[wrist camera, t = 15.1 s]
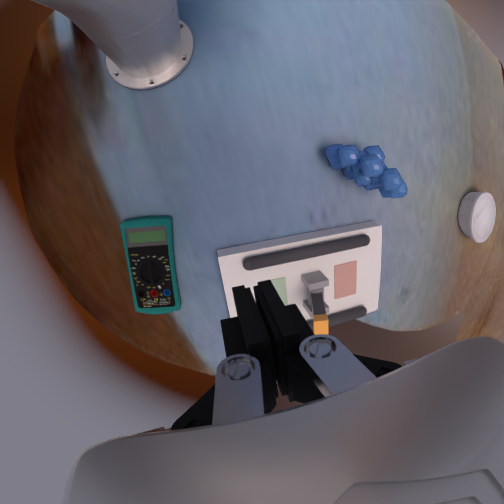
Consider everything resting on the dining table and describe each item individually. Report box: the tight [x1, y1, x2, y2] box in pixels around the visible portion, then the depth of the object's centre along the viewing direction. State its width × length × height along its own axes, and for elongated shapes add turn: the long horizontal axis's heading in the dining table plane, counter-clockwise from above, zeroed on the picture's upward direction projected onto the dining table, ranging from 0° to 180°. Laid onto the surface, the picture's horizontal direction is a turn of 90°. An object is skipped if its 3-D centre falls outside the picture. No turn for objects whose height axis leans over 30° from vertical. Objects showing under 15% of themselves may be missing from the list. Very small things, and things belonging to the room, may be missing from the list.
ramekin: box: [458, 192, 496, 243], centre depth 46 cm, size 11×11×5 cm
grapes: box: [325, 144, 408, 198], centre depth 35 cm, size 12×7×12 cm, turn 62°
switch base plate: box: [217, 221, 382, 322], centre depth 43 cm, size 16×26×6 cm, turn 99°
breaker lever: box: [308, 287, 328, 335], centre depth 38 cm, size 3×2×10 cm
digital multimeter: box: [120, 216, 181, 314], centre depth 39 cm, size 7×15×3 cm, turn 1°
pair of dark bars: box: [243, 234, 370, 331], centre depth 42 cm, size 15×20×2 cm
